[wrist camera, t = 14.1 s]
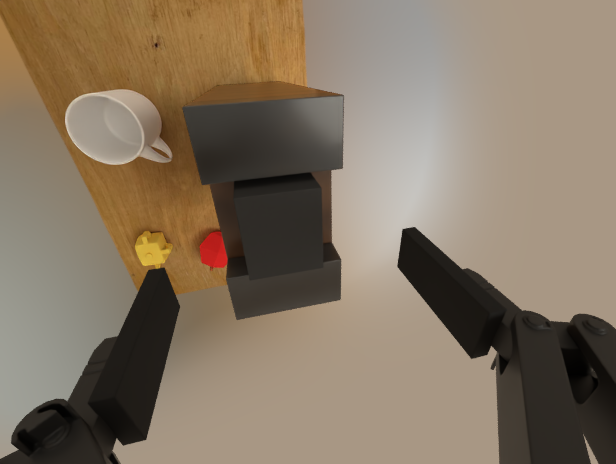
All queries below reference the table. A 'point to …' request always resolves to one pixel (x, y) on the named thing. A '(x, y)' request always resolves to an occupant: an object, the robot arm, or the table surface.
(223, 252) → the apple
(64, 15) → the table surface
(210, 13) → the table surface
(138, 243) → the teapot
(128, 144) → the mug
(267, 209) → the pad
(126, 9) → the table surface
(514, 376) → the robot arm
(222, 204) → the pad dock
